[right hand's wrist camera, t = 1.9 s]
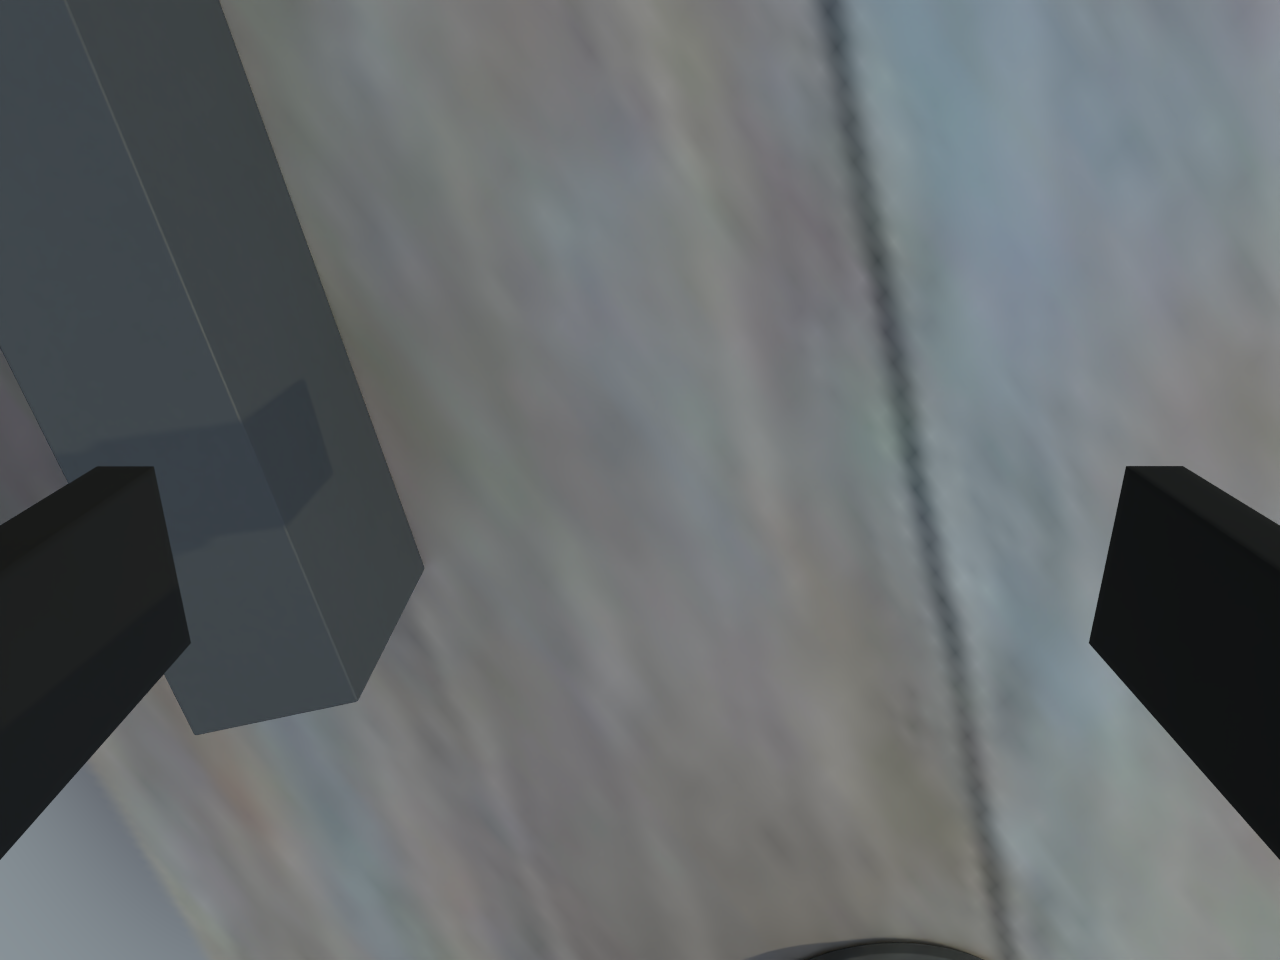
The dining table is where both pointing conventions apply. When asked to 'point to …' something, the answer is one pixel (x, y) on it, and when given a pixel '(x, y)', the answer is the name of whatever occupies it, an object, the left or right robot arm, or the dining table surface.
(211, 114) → the post
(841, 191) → the dining table surface
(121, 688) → the right robot arm
